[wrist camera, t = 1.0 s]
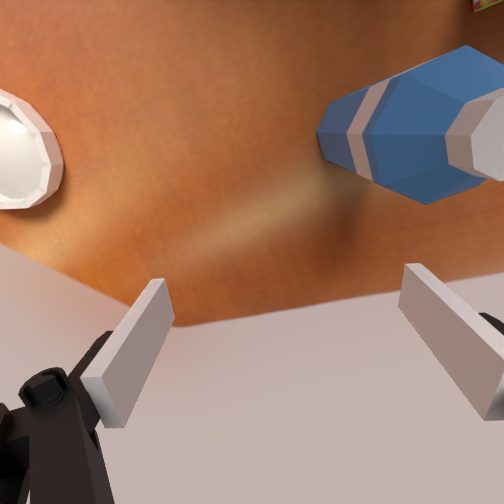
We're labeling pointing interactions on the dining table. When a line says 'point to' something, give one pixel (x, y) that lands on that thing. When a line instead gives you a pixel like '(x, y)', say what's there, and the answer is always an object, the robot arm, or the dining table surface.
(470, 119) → the water bottle
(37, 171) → the dish
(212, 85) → the dining table surface
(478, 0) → the snack box
